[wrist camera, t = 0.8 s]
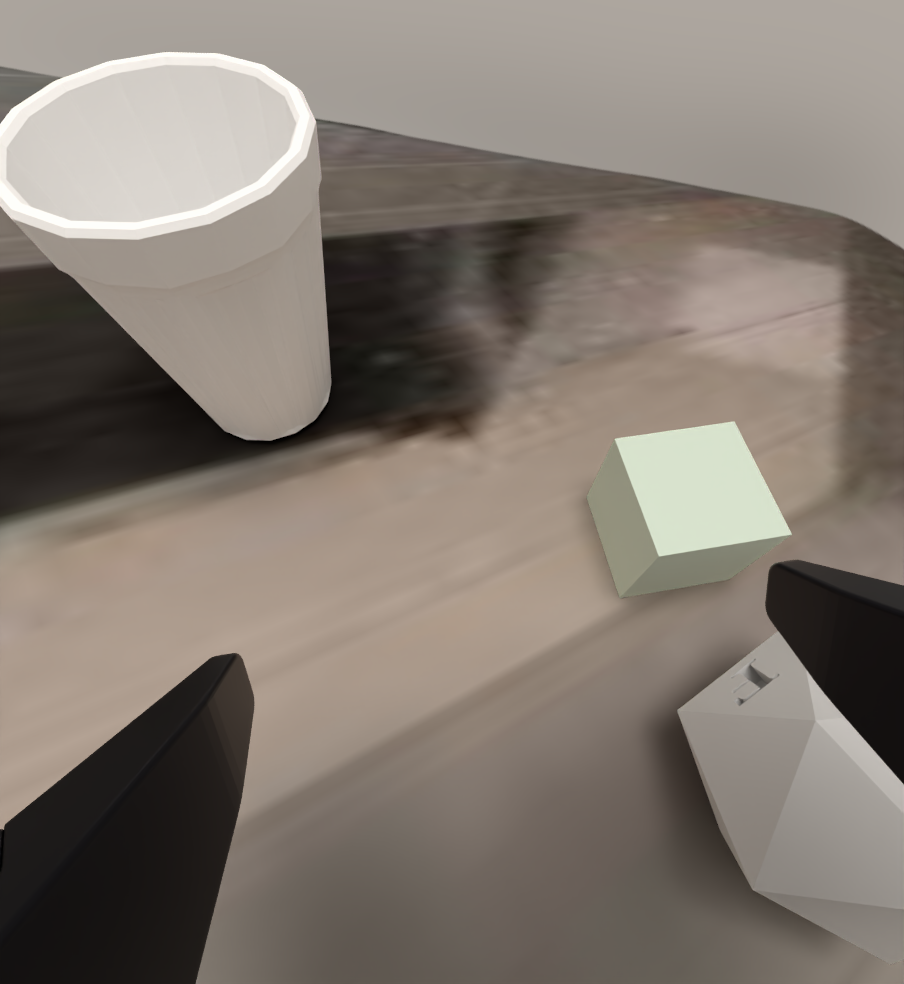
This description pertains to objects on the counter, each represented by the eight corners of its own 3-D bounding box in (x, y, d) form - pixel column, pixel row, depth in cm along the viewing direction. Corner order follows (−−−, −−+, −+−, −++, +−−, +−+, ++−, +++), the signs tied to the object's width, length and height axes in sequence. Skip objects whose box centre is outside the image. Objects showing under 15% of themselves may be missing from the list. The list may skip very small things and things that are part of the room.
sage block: (728, 580, 24) (792, 534, 19) (619, 598, 23) (659, 556, 19) (686, 482, 26) (734, 421, 22) (586, 497, 26) (614, 438, 21)
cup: (180, 336, 30) (15, 60, 19) (360, 315, 31) (308, 39, 19) (166, 492, 26) (-66, 253, 14) (377, 463, 26) (323, 215, 15)
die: (837, 657, 23) (798, 529, 17) (1109, 871, 16) (1193, 773, 10) (684, 777, 23) (597, 689, 18) (882, 1036, 16) (842, 1029, 11)
